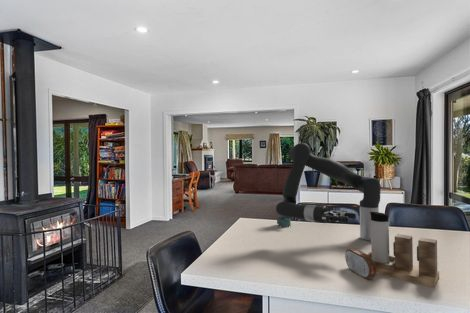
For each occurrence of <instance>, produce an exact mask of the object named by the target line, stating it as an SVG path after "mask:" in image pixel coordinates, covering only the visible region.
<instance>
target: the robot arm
mask: <svg viewBox="0 0 470 313" xmlns="http://www.w3.org/2000/svg"><path fill="white" fill-rule="evenodd" d="M288 156H289V158H290V160H291V161H292V162H293V163H292V167H291V169H290V171H289V173H288V174H287V178H286V181H285V182H284V187H283V190H282V196H283V200H284V199H285V202H283V201H280V202H278V203H277V204H276V206H275V211H276V214H278V215H279V216H280V217H281V216H282V217H284V218H287V219H292V218H295V219H297V220H302V221H308V222H313V223H321V224H327V223H328V222H329V223H334V224H335V223H339V222H340V223H349V219H353V220H355V219H357V214H356V212H355V213H354V212H348V210H339V209H333V210H329V208H328V206H325V205H318V204H317V205H313V204H310V205H309V204H300V203H299V204H298V203H297V195H298V192H299V187H300V184H301V179H302V175H303V172H304V169H305V168H306V167H308V168H310V169H313V170H315V171H316V172H317V173H320V174H322V175H324V176H327V177H328V178H330V179H333V180H336V181H338V182H340V183H344V184H346V185H349V186H350V187H352V188H354V189H355V190H357V191H359V192H360V193H362V194H363V196H362V199H360V201H359V238H360V239H362V240H363V241H364V240H365V241H370V242H371V214H370V212H379V210H380V209H379V207H380V206H379V204H380V203H381V183H380V180H378V179H377V178H376V177H373V176H364V175H361V174H359V173H356V172H354V171H352V170H350V169H349V168H348V167H347V166H346V165H344V164H343V163H341V162H339V161H337V160H335V159H331V158H327V157H323V156H317V155H315V154H312V153H311V147H310V146H309V145H308V144H307V143H305V142H300V143H297V144H295V145H294V146H292V147H291V148H290V149H289V150H288ZM379 213H380V212H379Z"/></svg>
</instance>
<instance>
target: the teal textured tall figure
mask: <svg viewBox="0 0 470 313" xmlns="http://www.w3.org/2000/svg"><path fill="white" fill-rule="evenodd" d="M282 202H285V199H284V198H283V200H282ZM291 220H292V218H290V219H287V218H284V217H282V216H280V217H278V219H276V224H277V226H278V227H279V226H281V227H280V228H290V227H291V226H292V225H291V223H292V222H291ZM289 226H290V227H289Z"/></svg>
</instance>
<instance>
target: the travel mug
mask: <svg viewBox="0 0 470 313" xmlns="http://www.w3.org/2000/svg"><path fill="white" fill-rule="evenodd" d="M370 214H371V241H370V242H371V243H370V245H371V246H370V248H371V251H370V252H371V257H372V260H373V261H377V262H381V263H386V264H390V261H389V256H390V227H389V225H390V224H389V214H388V213H387V214H386V213H383V212H370Z"/></svg>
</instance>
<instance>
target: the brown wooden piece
mask: <svg viewBox="0 0 470 313" xmlns="http://www.w3.org/2000/svg"><path fill="white" fill-rule="evenodd" d="M417 243H418V245H417V246H416V261H418V266H417V265H414V260H413V259H414V258H413V257H414V253H413V252H414V251H413V246H414V244H413V235H407V234H400V233H397V234H396V235H395V236H394V242H393V255H389V261H390V264H386V263H381V262H377V261H374V263H375V266H376V274H379V273H380V275H384V276H388V277H392V278H396V279H399V280H400V279H401V280H404V281H408V282H413V283H416V284H420V285H424V286H428V287H431V288H435V287H436V284H437V283H438V280H439V279H440V271H439V270H438V240H437V239H433V238H429V237H428V238H426V237H420V238H419V239H418V241H417ZM366 254H367V255H369V256H370V257H371V251H369V252H368V253H366ZM371 258H372V257H371Z"/></svg>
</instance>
